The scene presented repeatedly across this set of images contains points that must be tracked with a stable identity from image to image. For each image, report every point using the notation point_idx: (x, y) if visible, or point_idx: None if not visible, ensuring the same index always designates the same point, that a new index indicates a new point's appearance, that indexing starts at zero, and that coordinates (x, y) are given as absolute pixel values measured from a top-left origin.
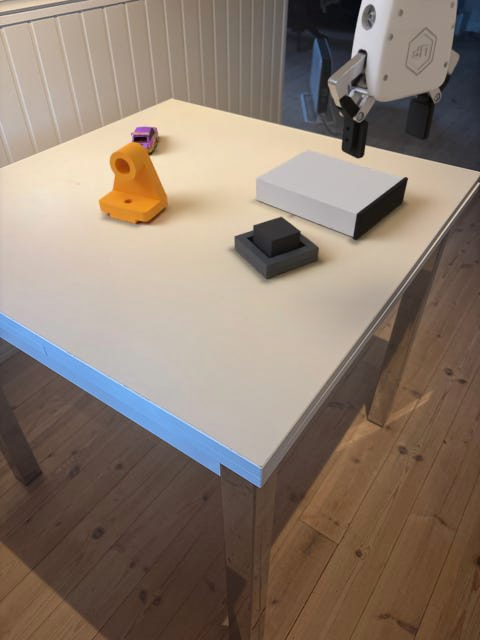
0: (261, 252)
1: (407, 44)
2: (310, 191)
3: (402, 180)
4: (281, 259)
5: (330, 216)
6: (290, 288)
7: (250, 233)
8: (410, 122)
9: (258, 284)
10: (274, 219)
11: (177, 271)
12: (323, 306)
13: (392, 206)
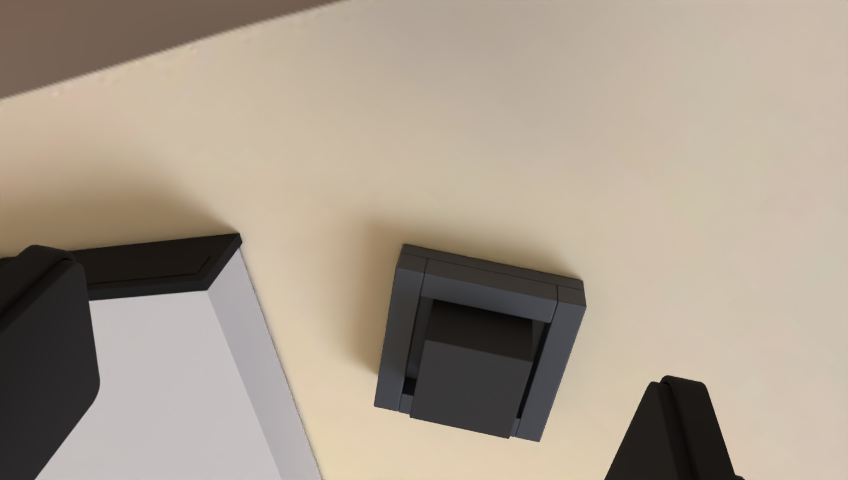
0: (545, 354)
1: None
2: (235, 442)
3: None
4: (529, 299)
5: (249, 339)
6: (567, 211)
7: None
8: (49, 425)
9: (617, 278)
10: (438, 420)
11: None
12: (565, 93)
13: None
